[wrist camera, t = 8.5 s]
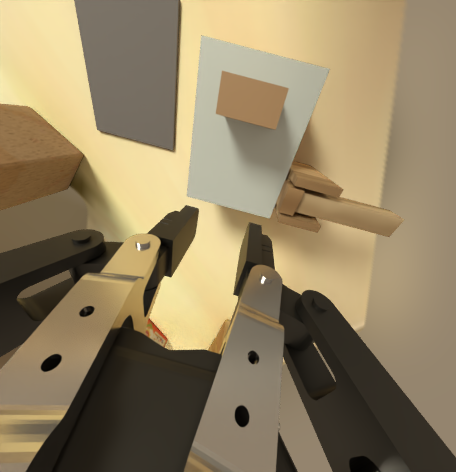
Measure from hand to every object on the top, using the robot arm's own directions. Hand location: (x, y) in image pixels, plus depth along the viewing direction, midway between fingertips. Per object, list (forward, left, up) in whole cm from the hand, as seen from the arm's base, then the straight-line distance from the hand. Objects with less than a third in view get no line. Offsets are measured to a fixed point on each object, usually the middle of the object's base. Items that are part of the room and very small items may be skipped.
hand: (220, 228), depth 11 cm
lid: (-3, -1, -14) cm, 15 cm away
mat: (-7, -18, -21) cm, 29 cm away
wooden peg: (0, +11, -12) cm, 16 cm away
